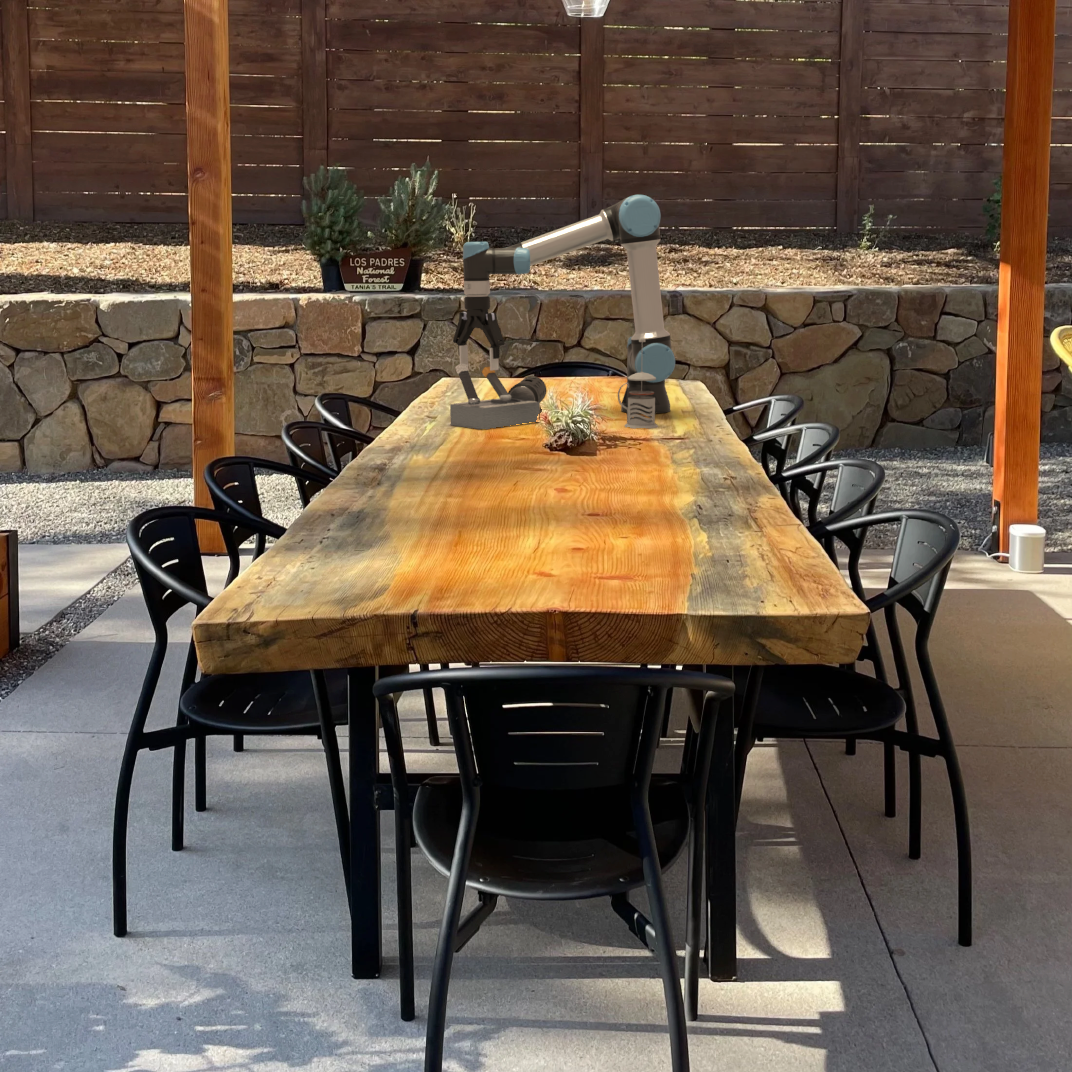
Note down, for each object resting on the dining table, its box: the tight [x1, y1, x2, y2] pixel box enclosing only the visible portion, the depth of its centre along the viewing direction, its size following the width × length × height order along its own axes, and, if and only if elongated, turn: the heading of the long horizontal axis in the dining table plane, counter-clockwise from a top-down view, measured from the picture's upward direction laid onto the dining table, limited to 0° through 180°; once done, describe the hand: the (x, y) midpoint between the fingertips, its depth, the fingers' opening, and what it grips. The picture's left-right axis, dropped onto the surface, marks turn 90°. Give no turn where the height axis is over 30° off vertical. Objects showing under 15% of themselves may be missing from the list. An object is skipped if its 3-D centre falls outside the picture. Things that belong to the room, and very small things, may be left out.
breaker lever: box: [481, 366, 511, 401], centre depth 396 cm, size 3×2×12 cm
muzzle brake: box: [507, 375, 547, 403], centre depth 418 cm, size 10×28×10 cm, turn 174°
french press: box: [617, 338, 659, 430], centre depth 384 cm, size 10×12×25 cm
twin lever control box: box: [449, 363, 541, 430], centre depth 391 cm, size 22×14×18 cm, turn 133°
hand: (479, 368), depth 401 cm, fingers open, 13 cm apart
